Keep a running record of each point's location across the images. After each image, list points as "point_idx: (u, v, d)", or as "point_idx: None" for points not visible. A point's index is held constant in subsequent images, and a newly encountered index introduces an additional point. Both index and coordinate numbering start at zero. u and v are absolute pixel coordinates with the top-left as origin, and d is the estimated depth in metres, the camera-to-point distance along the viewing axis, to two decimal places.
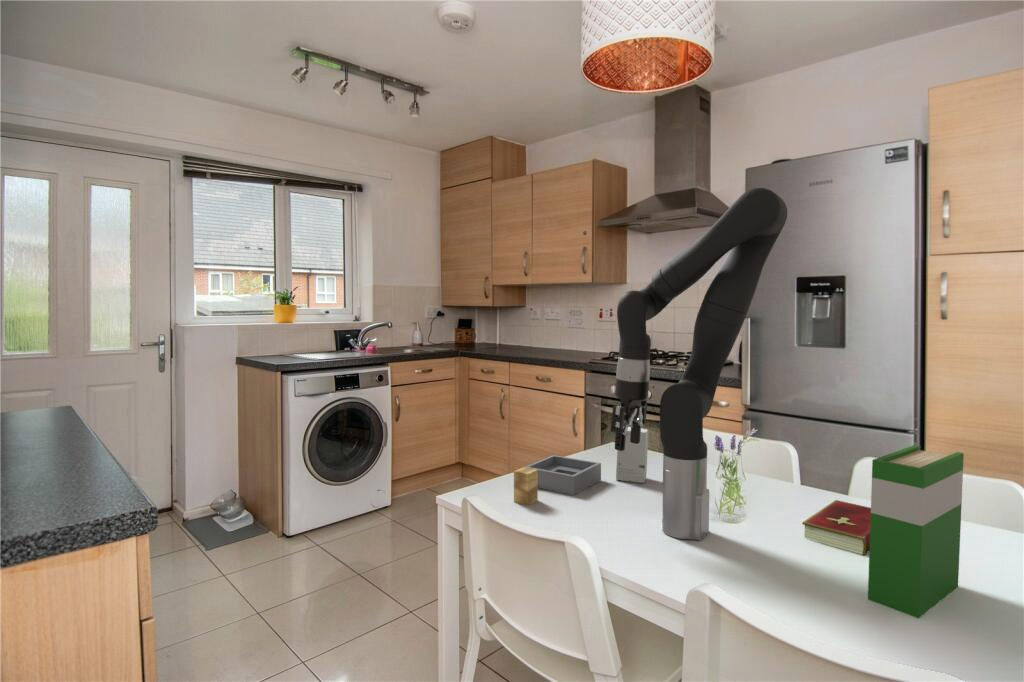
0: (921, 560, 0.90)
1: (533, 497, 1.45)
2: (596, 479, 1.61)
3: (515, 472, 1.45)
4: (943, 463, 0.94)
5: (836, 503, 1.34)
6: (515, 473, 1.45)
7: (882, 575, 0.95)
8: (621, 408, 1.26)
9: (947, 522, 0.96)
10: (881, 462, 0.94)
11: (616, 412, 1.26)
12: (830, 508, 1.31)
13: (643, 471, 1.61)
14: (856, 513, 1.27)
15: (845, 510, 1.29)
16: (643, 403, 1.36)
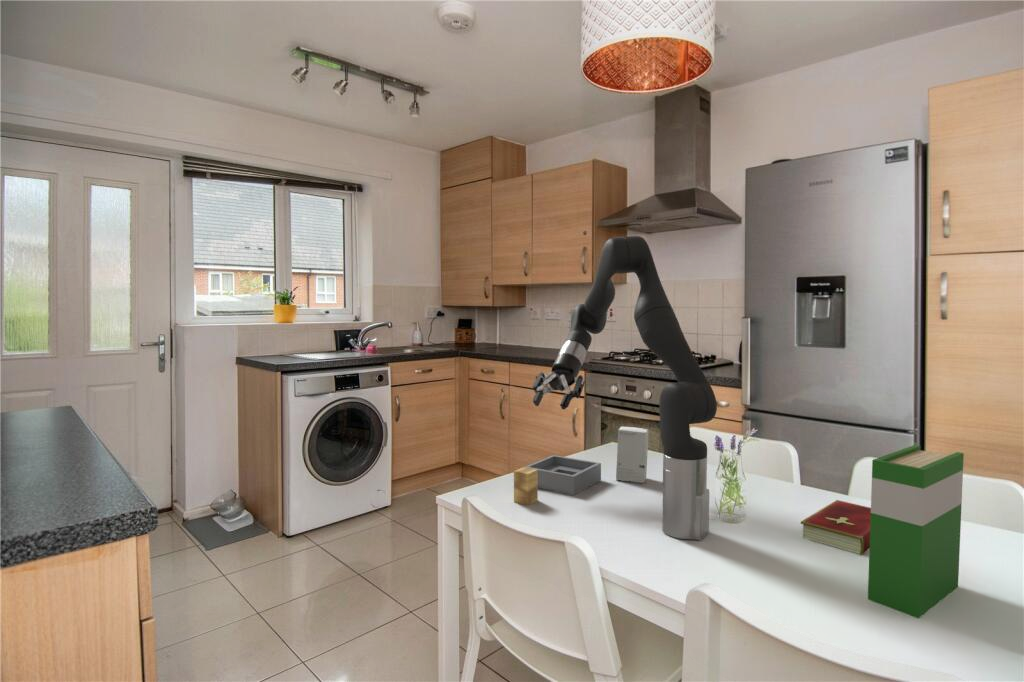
0: (921, 560, 0.90)
1: (533, 497, 1.45)
2: (596, 479, 1.61)
3: (515, 472, 1.45)
4: (943, 463, 0.94)
5: (837, 503, 1.34)
6: (515, 473, 1.45)
7: (882, 575, 0.95)
8: None
9: (947, 522, 0.96)
10: (881, 462, 0.94)
11: None
12: (830, 507, 1.31)
13: (643, 471, 1.61)
14: (856, 513, 1.27)
15: (845, 510, 1.29)
16: None
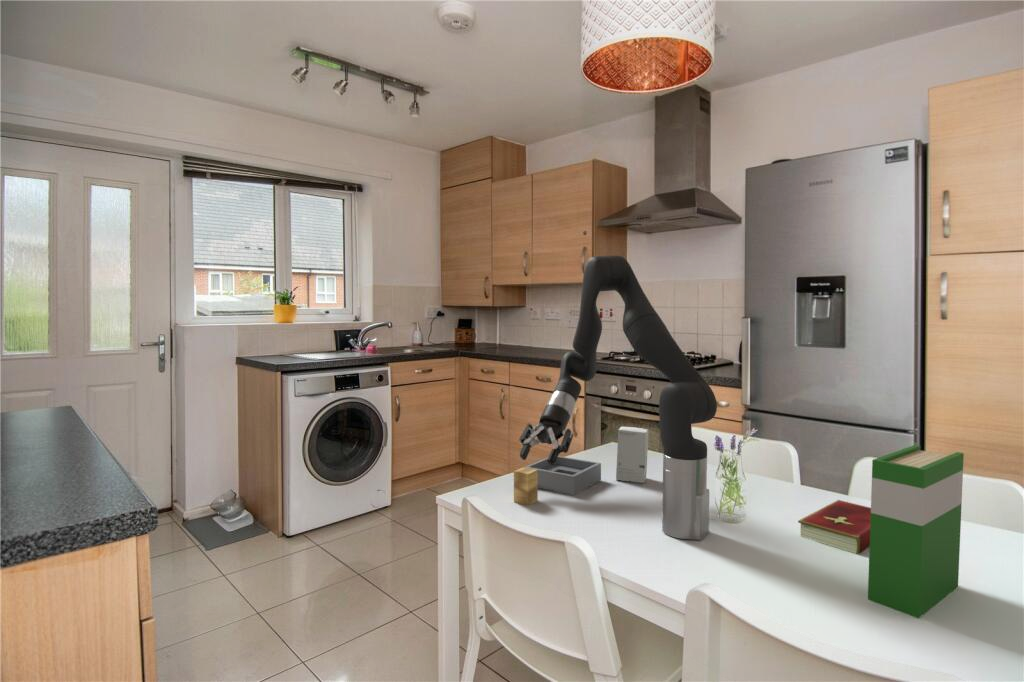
0: (921, 560, 0.90)
1: (533, 497, 1.45)
2: (596, 479, 1.61)
3: (515, 472, 1.45)
4: (943, 463, 0.94)
5: (838, 503, 1.34)
6: (515, 473, 1.45)
7: (882, 575, 0.95)
8: None
9: (947, 522, 0.96)
10: (881, 462, 0.94)
11: None
12: (830, 507, 1.31)
13: (643, 471, 1.61)
14: (856, 513, 1.27)
15: (846, 510, 1.29)
16: None
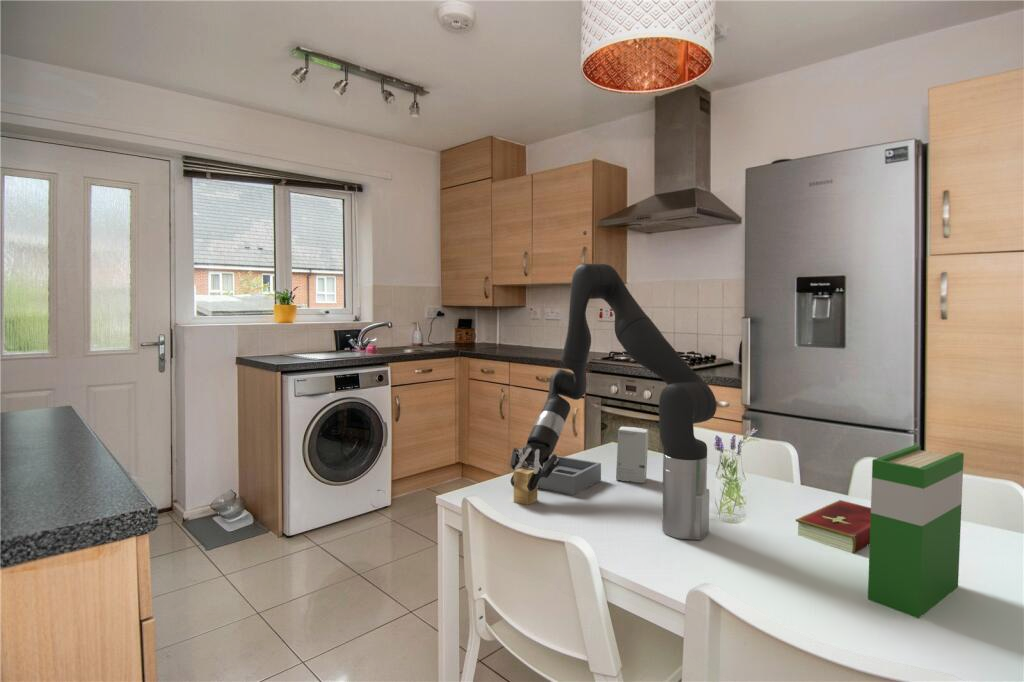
0: (921, 560, 0.90)
1: (533, 497, 1.45)
2: (596, 479, 1.61)
3: (515, 472, 1.45)
4: (943, 463, 0.94)
5: (839, 503, 1.34)
6: (515, 473, 1.45)
7: (882, 575, 0.95)
8: None
9: (947, 522, 0.96)
10: (881, 462, 0.94)
11: None
12: (830, 507, 1.31)
13: (643, 471, 1.61)
14: (856, 513, 1.27)
15: (846, 510, 1.29)
16: None
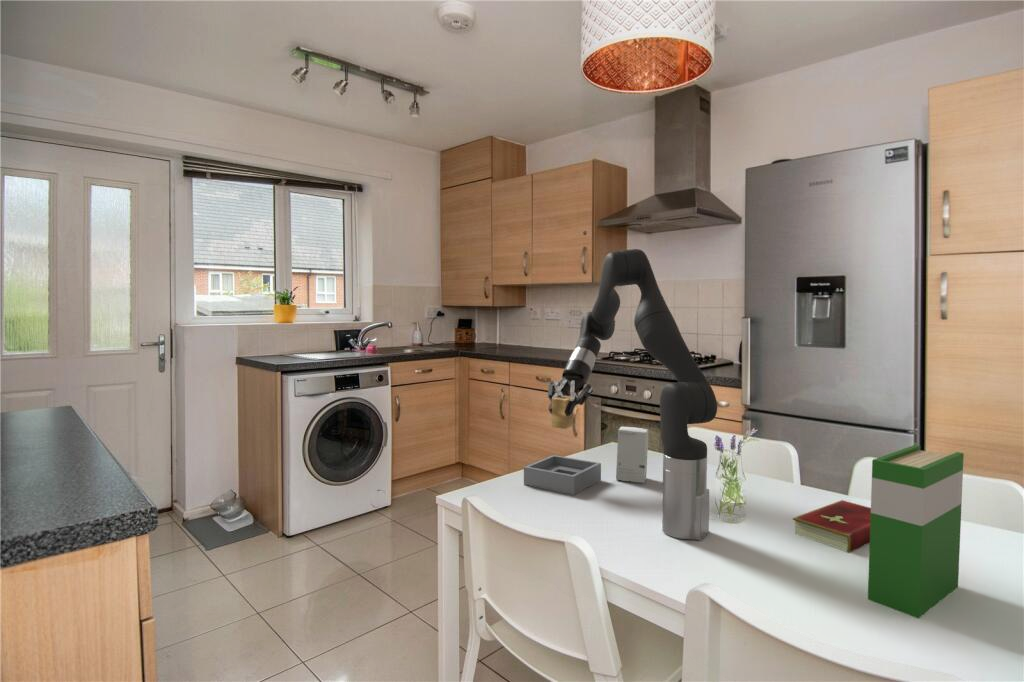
0: (921, 560, 0.90)
1: (569, 422, 1.60)
2: (596, 479, 1.61)
3: (553, 399, 1.60)
4: (943, 463, 0.94)
5: (840, 503, 1.34)
6: (553, 400, 1.60)
7: (882, 575, 0.95)
8: None
9: (947, 522, 0.96)
10: (881, 462, 0.94)
11: None
12: (830, 507, 1.31)
13: (643, 471, 1.61)
14: (855, 513, 1.27)
15: (846, 510, 1.29)
16: None
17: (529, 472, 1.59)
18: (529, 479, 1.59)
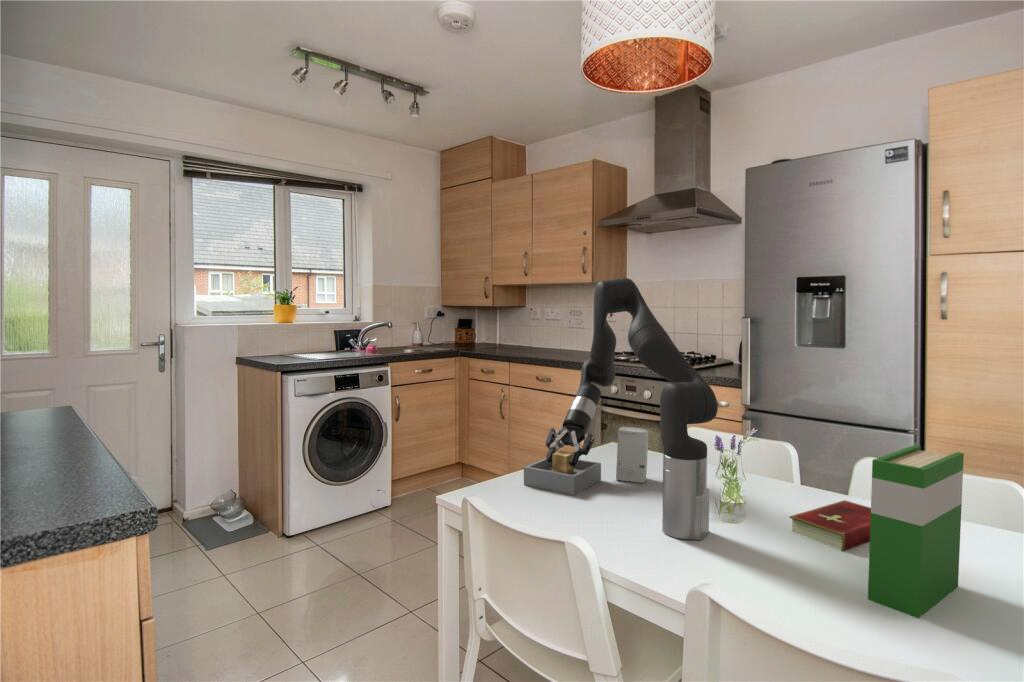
0: (921, 560, 0.90)
1: None
2: (596, 479, 1.61)
3: (554, 455, 1.61)
4: (943, 463, 0.94)
5: (842, 503, 1.34)
6: (554, 456, 1.61)
7: (882, 575, 0.95)
8: None
9: (947, 522, 0.96)
10: (881, 462, 0.94)
11: None
12: (831, 506, 1.32)
13: (643, 471, 1.61)
14: (855, 513, 1.27)
15: (846, 510, 1.29)
16: None
17: (529, 472, 1.59)
18: (529, 479, 1.59)
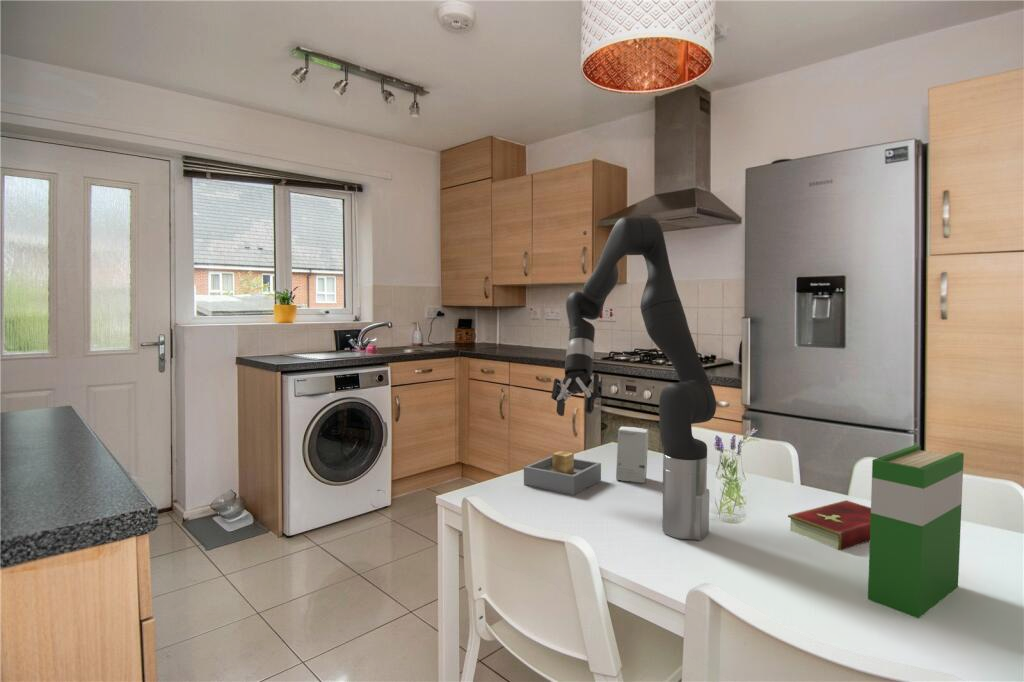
0: (921, 560, 0.90)
1: None
2: (596, 479, 1.61)
3: (554, 455, 1.61)
4: (943, 463, 0.94)
5: (843, 503, 1.34)
6: (554, 456, 1.61)
7: (882, 575, 0.95)
8: None
9: (947, 522, 0.96)
10: (881, 462, 0.94)
11: None
12: (831, 506, 1.32)
13: (643, 471, 1.61)
14: (855, 513, 1.27)
15: (846, 509, 1.29)
16: None
17: (529, 472, 1.59)
18: (529, 479, 1.59)
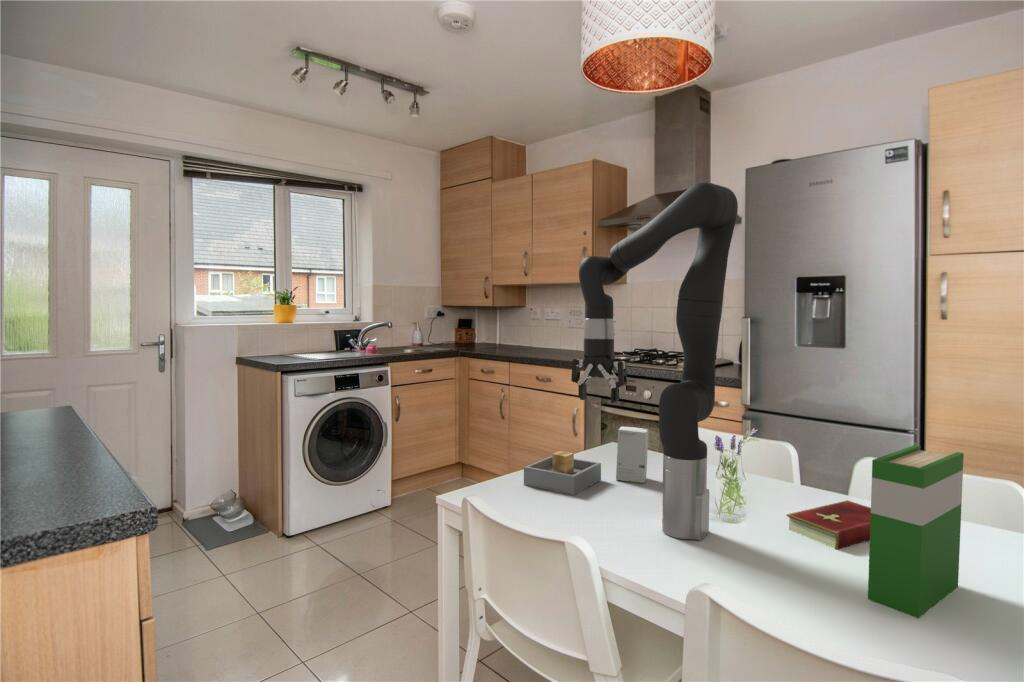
0: (921, 560, 0.90)
1: None
2: (596, 479, 1.61)
3: (554, 455, 1.61)
4: (943, 463, 0.94)
5: (843, 503, 1.34)
6: (554, 456, 1.61)
7: (882, 575, 0.95)
8: None
9: (947, 522, 0.96)
10: (881, 462, 0.94)
11: None
12: (831, 506, 1.32)
13: (643, 471, 1.61)
14: (855, 513, 1.27)
15: (846, 509, 1.30)
16: None
17: (529, 472, 1.59)
18: (529, 479, 1.59)
